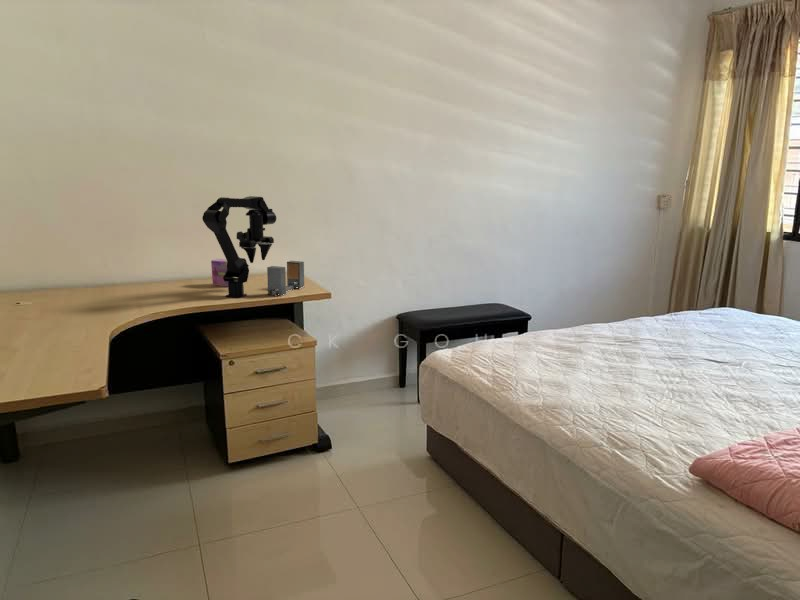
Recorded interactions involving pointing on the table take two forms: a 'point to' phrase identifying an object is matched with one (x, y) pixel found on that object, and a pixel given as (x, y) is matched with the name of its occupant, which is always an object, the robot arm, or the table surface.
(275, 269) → the tall grey block
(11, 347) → the table surface
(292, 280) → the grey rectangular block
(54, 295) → the table surface
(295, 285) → the rail
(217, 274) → the box
